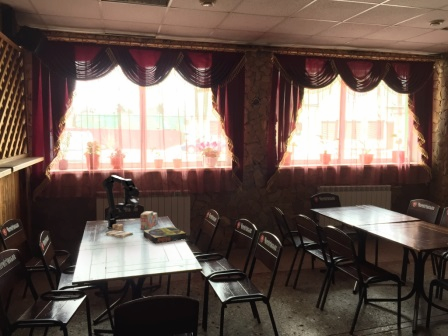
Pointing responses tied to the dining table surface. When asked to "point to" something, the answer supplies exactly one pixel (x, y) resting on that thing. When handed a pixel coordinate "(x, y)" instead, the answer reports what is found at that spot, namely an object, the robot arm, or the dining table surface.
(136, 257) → the dining table surface
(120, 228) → the block
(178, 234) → the board game box
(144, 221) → the stack of blocks
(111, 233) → the board
